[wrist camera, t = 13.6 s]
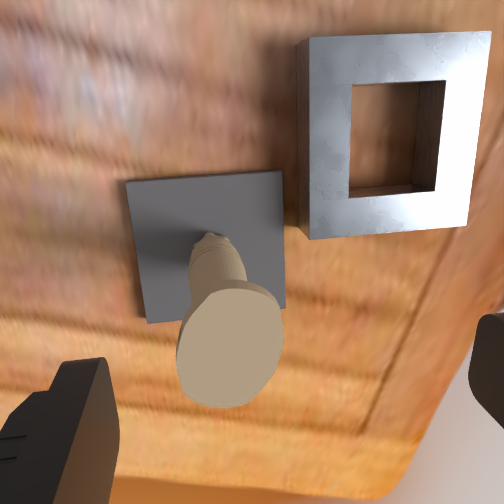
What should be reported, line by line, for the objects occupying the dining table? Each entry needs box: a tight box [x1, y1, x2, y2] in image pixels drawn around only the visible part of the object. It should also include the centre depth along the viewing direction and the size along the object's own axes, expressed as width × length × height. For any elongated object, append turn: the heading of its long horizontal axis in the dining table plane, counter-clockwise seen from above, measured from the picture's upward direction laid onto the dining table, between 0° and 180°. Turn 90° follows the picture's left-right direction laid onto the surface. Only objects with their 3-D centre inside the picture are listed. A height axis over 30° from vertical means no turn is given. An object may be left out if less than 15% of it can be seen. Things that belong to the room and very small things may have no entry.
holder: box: [296, 31, 492, 240], centre depth 31 cm, size 14×13×4 cm
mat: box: [125, 170, 286, 324], centre depth 34 cm, size 12×12×1 cm
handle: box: [176, 232, 284, 408], centre depth 26 cm, size 5×6×15 cm
